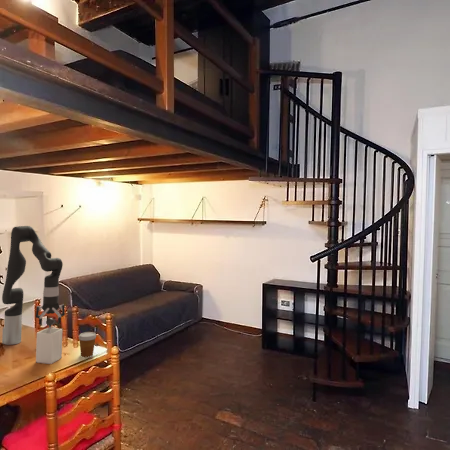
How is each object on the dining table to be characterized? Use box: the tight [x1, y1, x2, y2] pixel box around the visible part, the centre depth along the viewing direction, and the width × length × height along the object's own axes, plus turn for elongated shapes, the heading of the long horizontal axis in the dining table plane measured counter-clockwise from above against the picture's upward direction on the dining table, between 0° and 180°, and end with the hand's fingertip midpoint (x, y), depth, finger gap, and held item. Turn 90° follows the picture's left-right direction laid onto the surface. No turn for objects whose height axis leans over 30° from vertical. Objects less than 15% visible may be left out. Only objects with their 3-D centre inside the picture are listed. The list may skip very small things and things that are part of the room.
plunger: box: [45, 317, 55, 334], centre depth 193 cm, size 7×7×17 cm
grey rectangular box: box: [35, 327, 63, 365], centre depth 195 cm, size 9×12×16 cm
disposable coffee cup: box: [78, 331, 97, 358], centre depth 202 cm, size 10×10×12 cm
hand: (50, 324), depth 193 cm, fingers open, 8 cm apart
